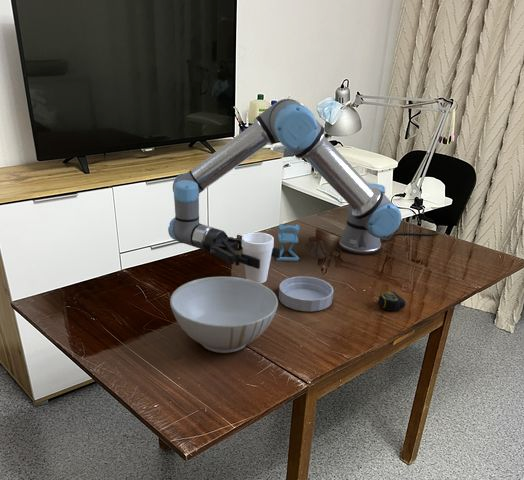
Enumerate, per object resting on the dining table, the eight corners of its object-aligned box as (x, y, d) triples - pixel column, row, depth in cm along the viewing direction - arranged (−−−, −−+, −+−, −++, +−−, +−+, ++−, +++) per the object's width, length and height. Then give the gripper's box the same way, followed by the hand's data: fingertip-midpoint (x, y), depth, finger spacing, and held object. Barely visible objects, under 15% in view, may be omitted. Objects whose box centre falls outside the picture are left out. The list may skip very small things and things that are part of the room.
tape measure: (405, 311, 162) (407, 300, 159) (384, 313, 160) (386, 302, 158) (393, 301, 167) (395, 289, 165) (373, 303, 165) (375, 292, 163)
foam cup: (236, 274, 168) (237, 234, 161) (264, 270, 171) (266, 230, 164) (248, 287, 161) (249, 245, 154) (276, 283, 164) (279, 242, 157)
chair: (296, 251, 196) (299, 219, 190) (298, 260, 189) (301, 227, 183) (275, 250, 196) (277, 218, 190) (276, 260, 189) (278, 226, 183)
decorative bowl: (265, 376, 130) (268, 332, 124) (157, 361, 134) (154, 317, 127) (282, 322, 153) (285, 282, 146) (189, 310, 156) (187, 271, 150)
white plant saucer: (309, 284, 174) (310, 272, 172) (342, 304, 163) (344, 292, 161) (268, 295, 166) (269, 283, 164) (300, 317, 155) (301, 305, 153)
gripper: (232, 241, 180) (289, 259, 169) (187, 261, 165) (246, 283, 154) (233, 219, 176) (291, 236, 165) (186, 237, 161) (246, 258, 150)
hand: (269, 258), depth 160 cm, fingers closed on foam cup, 9 cm apart
